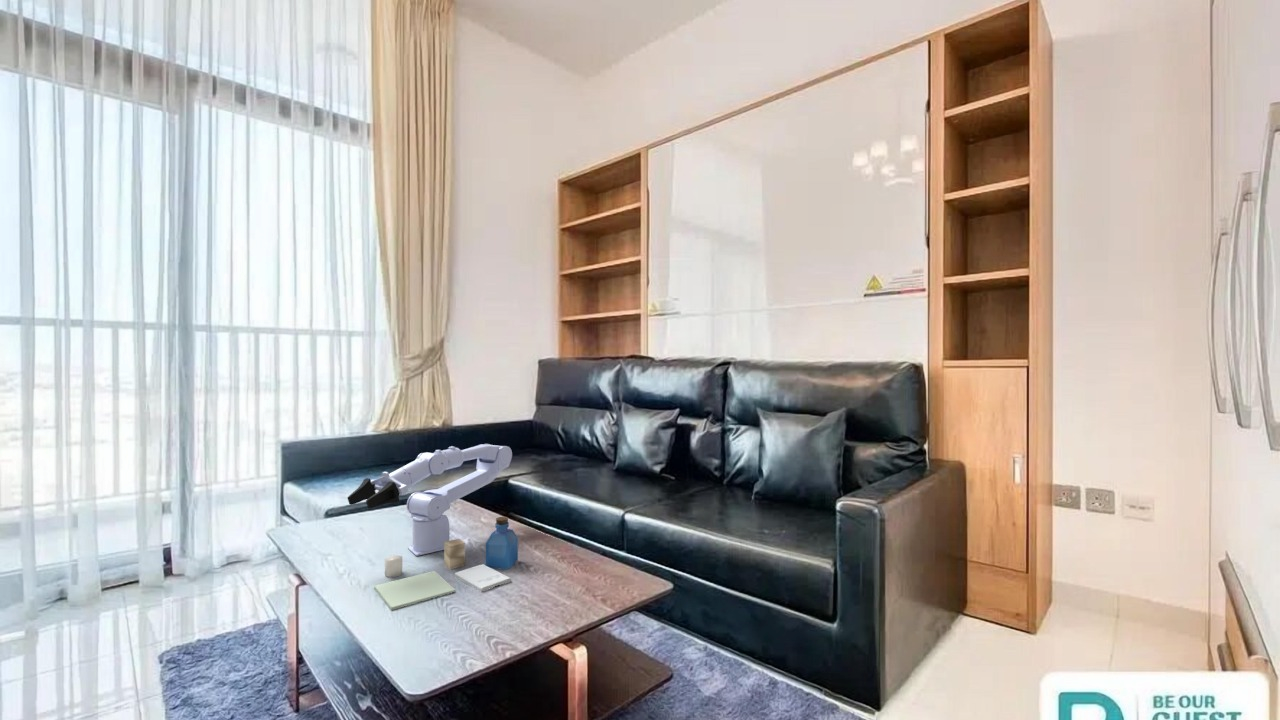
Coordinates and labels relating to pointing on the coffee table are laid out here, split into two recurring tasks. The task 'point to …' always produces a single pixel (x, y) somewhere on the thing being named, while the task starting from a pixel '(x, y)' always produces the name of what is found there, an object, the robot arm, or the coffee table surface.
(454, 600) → the coffee table surface
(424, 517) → the robot arm
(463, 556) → the birch block
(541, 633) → the coffee table surface
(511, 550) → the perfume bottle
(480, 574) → the external hard drive
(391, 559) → the ceramic cylinder
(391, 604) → the sage mat
